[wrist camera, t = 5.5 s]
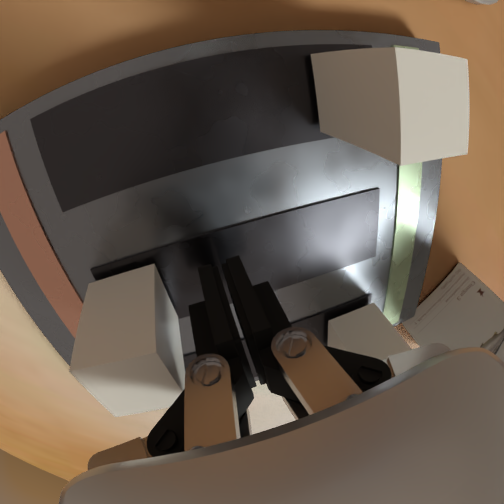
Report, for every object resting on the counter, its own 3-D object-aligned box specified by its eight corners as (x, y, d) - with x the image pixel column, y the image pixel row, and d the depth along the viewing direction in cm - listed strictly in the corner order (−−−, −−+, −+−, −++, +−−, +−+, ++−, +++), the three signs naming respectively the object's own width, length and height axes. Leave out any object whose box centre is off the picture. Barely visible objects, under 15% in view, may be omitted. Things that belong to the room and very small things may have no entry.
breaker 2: (310, 54, 9) (395, 47, 5) (377, 54, 9) (467, 59, 5) (320, 131, 10) (400, 165, 7) (383, 123, 11) (467, 154, 7)
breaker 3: (328, 320, 16) (367, 383, 12) (373, 302, 16) (417, 357, 13) (327, 352, 18) (360, 409, 14) (368, 335, 18) (404, 386, 14)
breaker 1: (88, 283, 11) (69, 371, 7) (154, 263, 11) (156, 352, 8) (118, 332, 13) (115, 417, 9) (178, 316, 13) (190, 402, 9)
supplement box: (459, 258, 20) (562, 358, 10) (468, 296, 24) (544, 378, 14) (397, 321, 22) (487, 440, 11) (417, 346, 26) (485, 439, 15)
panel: (-32, 146, 8) (-51, 156, 6) (418, 41, 11) (440, 42, 9) (116, 395, 18) (116, 414, 16) (403, 304, 21) (414, 317, 19)
